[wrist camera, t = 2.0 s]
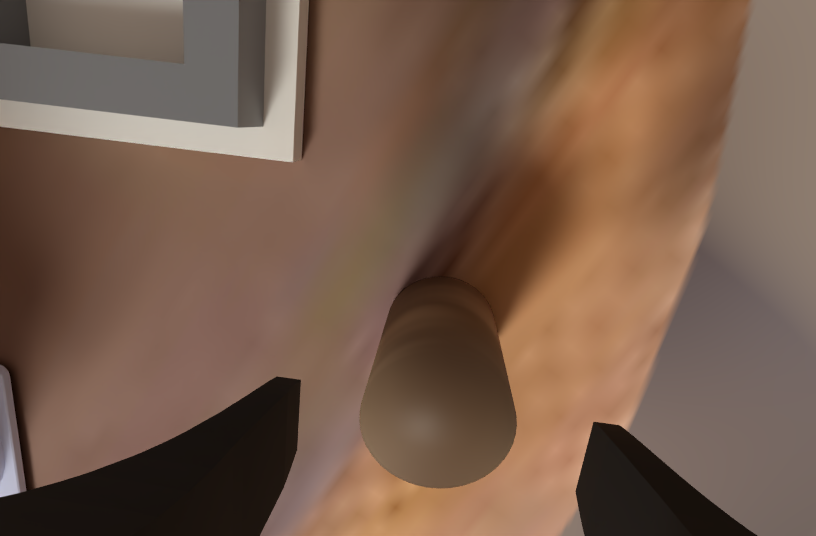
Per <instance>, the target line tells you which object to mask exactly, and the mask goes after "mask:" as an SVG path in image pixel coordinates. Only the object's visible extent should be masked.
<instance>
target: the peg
mask: <svg viewBox="0 0 816 536" xmlns="http://www.w3.org/2000/svg"><path fill="white" fill-rule="evenodd" d="M516 427H517V421H516V412H515V406H514V402H513V398H512V393H511V389H510V385H509V380H508V376H507V372H506V367H505V363H504V359H503V354H502V350H501V346H500V341H499V337H498V333H497V328H496V324H495V319H494V315H493V312H492V309H491V307H490V305H489V303H488V302H487V300H486V299H485V297H484V296H483V295H482V294H481V293H480V292H479V291H478V290H477V289H475V288H474V287H473V286H471V285H470V284H468V283H466V282H464V281H461V280H458V279H455V278H450V277H430V278H425V279H422V280H419V281H417V282H415V283H413V284H411V285H410V286H408V287H407V288H405V289H404V290H403V291H402V292H401V293H400V294H399V295H398V296H397V297H396V299H395V300H394V302H393V304H392V306H391V308H390V311H389V314H388V317H387V320H386V324H385V327H384V330H383V333H382V337H381V340H380V343H379V347H378V350H377V353H376V356H375V360H374V363H373V366H372V370H371V373H370V376H369V380H368V383H367V386H366V389H365V393H364V396H363V399H362V403H361V408H360V429H361V433H362V436H363V439H364V442H365V444H366V446H367V448H368V450H369V451H370V453H371V454H372V456H373V457H374V458H375V459H376V461H377V462H378V463H379V464H380V465H381V466H382V467H383V468H385V469H386V470H387V471H389V472H390V473H391V474H393V475H395V476H396V477H398V478H400V479H402V480H404V481H406V482H409V483H412V484H415V485H418V486H423V487H429V488H452V487H459V486H463V485H467V484H469V483H472V482H475V481H477V480H479V479H481V478H483V477H485V476H486V475H488V474H489V473H490V472H492V471H493V470H494V469H495V468H496V467H498V466H499V464H500V463H501V462H502V461H503V460H504V459H505V457H506V456H507V454H508V453H509V451H510V449H511V446H512V444H513V441H514V438H515V434H516Z"/></svg>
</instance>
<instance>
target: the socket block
mask: <svg viewBox="0 0 816 536" xmlns="http://www.w3.org/2000/svg"><path fill="white" fill-rule="evenodd" d="M308 12H309V0H0V127H7V128H15V129H24V130H32V131H40V132H48V133H56V134H65V135H73V136H81V137H89V138H97V139H106V140H114V141H122V142H130V143H138V144H147V145H155V146H163V147H171V148H179V149H188V150H196V151H204V152H212V153H221V154H229V155H237V156H245V157H253V158H262V159H270V160H278V161H286V162H296V161H299V160H302V140H303V119H304V98H305V76H306V55H307V34H308Z"/></svg>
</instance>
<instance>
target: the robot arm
mask: <svg viewBox="0 0 816 536" xmlns="http://www.w3.org/2000/svg"><path fill="white" fill-rule="evenodd" d="M300 384H301V380H297V379H290V378H283V377H275V378H273V379H272V380H270V381H269V382H267V383H265V384H264V385H262V386H261V387H259V388H258V389H256V390H255V391H253V392H252V393H250V394H249V395H247V396H245V397H244V398H242V399H241V400H239V401H238V402H236V403H234V404H233V405H231V406H230V407H228V408H226V409H225V410H223V411H222V412H220V413H218V414H216V415H215V416H213V417H211V418H209V419H208V420H206V421H204V422H202V423H200V424H199V425H197V426H195V427H193V428H192V429H190V430H188V431H186V432H184V433H182V434H180V435H178V436H176V437H174V438H172V439H170V440H168V441H166V442H164V443H162V444H160V445H158V446H155V447H153V448H151V449H149V450H146V451H144V452H142V453H139V454H137V455H135V456H132V457H129V458H127V459H124V460H121V461H119V462H116V463H113V464H111V465H108V466H105V467H103V468H100V469H97V470H95V471H92V472H89V473H86V474H83V475H80V476H77V477H74V478H70V479H67V480H64V481H61V482H57V483H54V484H50V485H47V486H43V487H40V488H36V489H32V490H28V491H26V485H25V478H24V471H23V464H22V457H21V450H20V443H19V436H18V429H17V422H16V415H15V408H14V401H13V394H12V387H11V380H10V374H9V371H8V370H7V369H6V368H5V367H4V366H2V365H0V536H260V534H261V532H262V530H263V528H264V526H265V524H266V522H267V520H268V518H269V516H270V514H271V512H272V510H273V508H274V506H275V504H276V502H277V500H278V498H279V496H280V494H281V492H282V490H283V488H284V485H285V482H286V480H287V477H288V474H289V472H290V469H291V466H292V463H293V460H294V457H295V454H296V451H297V441H298V422H299V403H300ZM576 496H577V501H578V507H579V512H580V517H581V522H582V526H583V531H584V534H585V536H757V535H755V534H754V533H753V532H751V531H749V530H748V529H747V528H745V527H744V526H743V525H741V524H740V523H738V522H737V521H736V520H734V519H733V518H732V517H730V516H729V515H728V514H727V513H725V512H724V511H723V510H721V509H720V508H719V507H717V506H716V505H715V504H714V503H712V502H711V501H710V500H708V499H707V498H706V497H705V496H703V495H702V494H701V493H700V492H698V491H697V490H696V489H695V488H693V487H692V486H691V485H690V484H689V483H688V482H686V481H685V480H684V479H683V478H681V477H680V476H679V475H678V474H677V473H676V472H674V471H673V470H672V469H671V468H670V467H669V466H667V465H666V464H665V463H664V462H663V461H662V460H660V459H659V458H658V457H657V456H656V455H654V453H652V452H651V451H650V450H649V449H648V448H646V447H645V446H644V445H643V444H642V443H641V442H640V441H638V440H637V439H636V438H635V437H634V436H632V435H631V434H630V433H629V432H628V431H626V430H625V429H624V428H622V427H621V426H619V425H613V424H606V423H599V422H593V426H592V430H591V434H590V438H589V442H588V446H587V449H586V453H585V457H584V461H583V465H582V469H581V473H580V476H579V480H578V484H577V488H576Z"/></svg>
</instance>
